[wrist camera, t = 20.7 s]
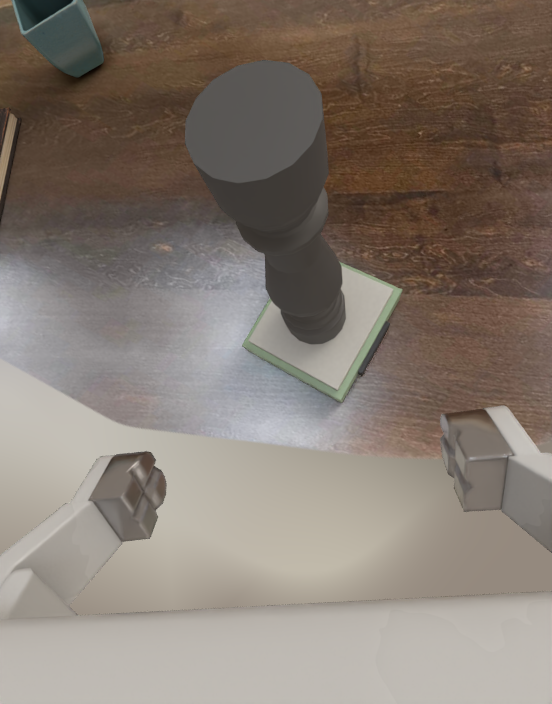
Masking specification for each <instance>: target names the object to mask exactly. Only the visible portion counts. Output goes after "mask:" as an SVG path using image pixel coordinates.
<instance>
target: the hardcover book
mask: <svg viewBox="0 0 552 704" xmlns="http://www.w3.org/2000/svg"><path fill="white" fill-rule="evenodd" d="M10 110H11V109H10V108H4V109H0V220H1V215H2V211H3V206H4V201H5V196H6V191H7V186H8V181H9V176H10V171H11V167H12V162H13V157H14V152H15V147H16V142H17V137H18V132H19V128H20V123H21V118H16V117H14V115H13V114H11V113H10Z"/></svg>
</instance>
